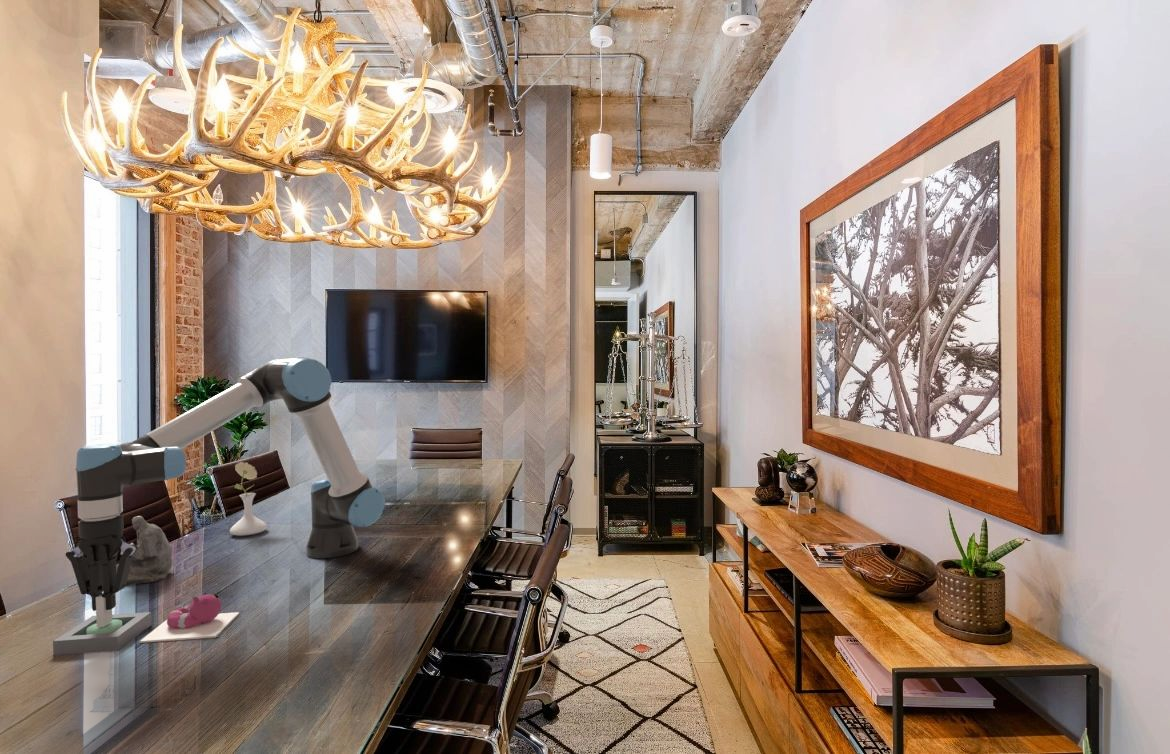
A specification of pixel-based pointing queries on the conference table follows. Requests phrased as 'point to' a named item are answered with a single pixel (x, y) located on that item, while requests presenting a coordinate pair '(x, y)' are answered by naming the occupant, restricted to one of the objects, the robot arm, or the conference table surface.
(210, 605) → the toy
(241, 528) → the flower in vase
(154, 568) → the figurine
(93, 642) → the button housing
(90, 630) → the button
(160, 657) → the conference table surface
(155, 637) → the paper sheet
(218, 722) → the conference table surface
